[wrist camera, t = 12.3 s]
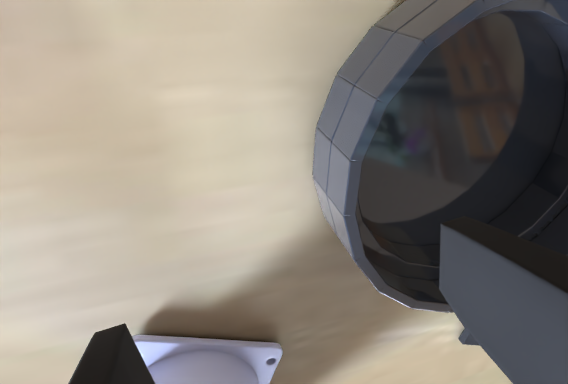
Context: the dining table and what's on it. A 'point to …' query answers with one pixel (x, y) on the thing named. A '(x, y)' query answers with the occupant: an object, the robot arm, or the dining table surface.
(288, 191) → the dining table surface
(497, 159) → the basin
